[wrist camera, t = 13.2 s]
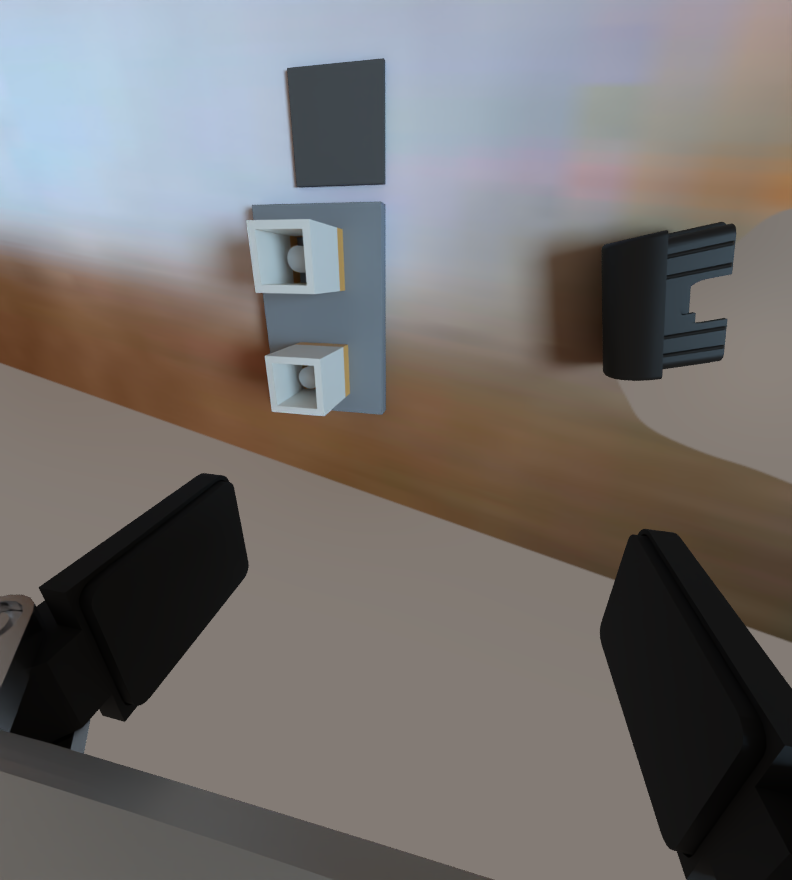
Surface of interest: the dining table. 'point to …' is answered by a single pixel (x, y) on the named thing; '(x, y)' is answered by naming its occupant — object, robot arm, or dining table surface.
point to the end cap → (661, 300)
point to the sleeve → (328, 378)
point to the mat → (338, 123)
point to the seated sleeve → (319, 252)
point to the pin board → (338, 299)
